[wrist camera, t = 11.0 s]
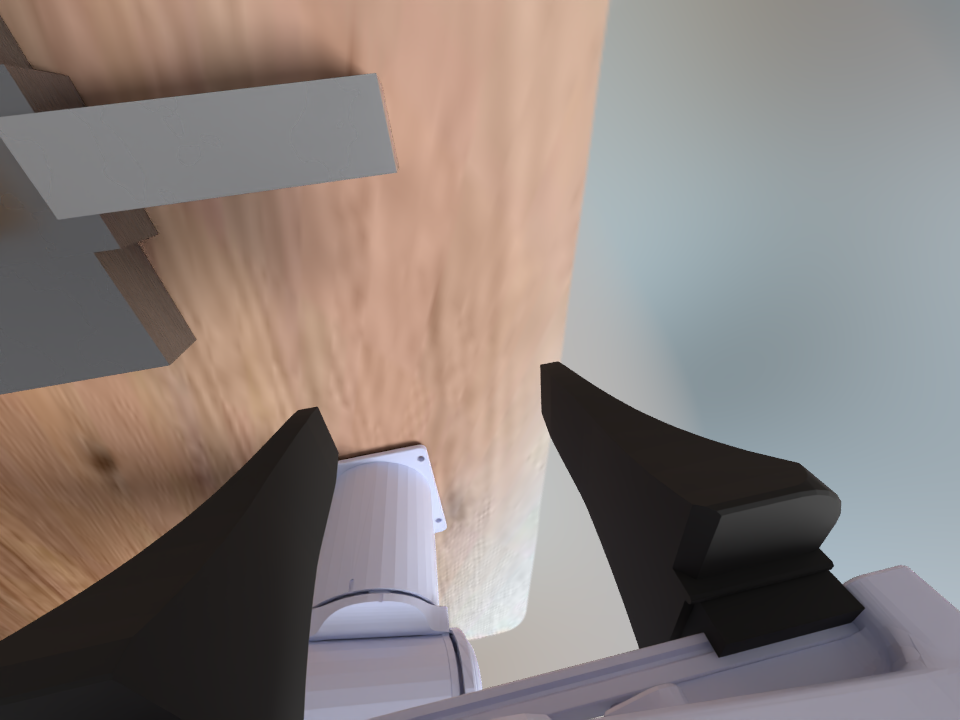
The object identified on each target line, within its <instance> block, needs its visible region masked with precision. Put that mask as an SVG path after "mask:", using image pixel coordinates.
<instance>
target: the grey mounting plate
mask: <svg viewBox="0 0 960 720" xmlns="http://www.w3.org/2000/svg"><path fill="white" fill-rule="evenodd" d="M398 168H399V166H398V161H397V156H396V151H395V146H394V141H393V136H392V131H391V126H390V122H389V117H388V112H387V107H386V102H385V97H384V92H383V87H382V84H381V82H380V80H379V78H378V76H377V74H376V73H373V74H364V75H356V76H347V77H338V78H330V79H321V80H313V81H304V82H296V83H287V84H279V85H270V86H261V87H253V88H244V89H236V90H227V91H219V92H210V93H202V94H193V95H184V96H176V97H167V98H159V99H150V100H142V101H133V102H125V103H116V104H107V105H99V106H90V107H86V106H85V104H84V102H83V101H82V99H81V97H80V95H79V94H78V92H77V90H76V88H75V87H74V85H73V83H72V81H71V79H70V78H69V76H65V75H60V74H55V73H49V72H44V71H38V70H33V69H32V67H31V66H30V64H29V62H28V61H27V59H26V57H25V56H24V54H23V52H22V51H21V49H20V47H19V46H18V44H17V42H16V41H15V39H14V37H13V36H12V34H11V33H10V31H9V29H8V28H7V26H6V24H5V23H4V21H3V19H2V18H1V16H0V394H6V393H12V392H18V391H23V390H29V389H35V388H41V387H46V386H52V385H58V384H64V383H70V382H75V381H81V380H87V379H93V378H98V377H104V376H110V375H116V374H122V373H127V372H133V371H139V370H145V369H150V368H156V367H162V366H168V365H170V364H171V363H173V362H174V361H175V360H176V359H177V358H178V357H179V356H180V355H181V354H182V353H183V352H184V351H185V350H186V349H187V348H188V347H189V346H191V345H192V344H193V343H194V342H195V341H196V338H195V337H194V335H193V333H192V332H191V330H190V328H189V327H188V325H187V323H186V322H185V320H184V318H183V317H182V315H181V313H180V312H179V310H178V308H177V307H176V305H175V304H174V302H173V300H172V299H171V297H170V295H169V294H168V292H167V290H166V289H165V287H164V285H163V284H162V282H161V280H160V279H159V277H158V275H157V274H156V272H155V270H154V269H153V267H152V266H151V264H150V262H149V261H148V259H147V257H146V256H145V254H144V252H143V251H142V249H141V247H140V246H139V244H138V242H139V241H142V240H145V239H147V238H150V237H152V236H155V235H158V233H157V231H156V229H155V227H154V226H153V224H152V222H151V220H150V219H149V217H148V215H147V213H146V211H145V210H144V208H146V207H153V206H160V205H167V204H174V203H182V202H189V201H196V200H203V199H210V198H217V197H225V196H232V195H239V194H246V193H253V192H261V191H268V190H275V189H282V188H289V187H296V186H304V185H311V184H318V183H325V182H332V181H339V180H347V179H354V178H361V177H368V176H375V175H383V174H390V173H397V171H398Z"/></svg>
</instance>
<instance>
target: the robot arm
mask: <svg viewBox="0 0 960 720" xmlns="http://www.w3.org/2000/svg"><path fill="white" fill-rule="evenodd" d="M540 370H541V407H542V415H543V418H544V421H545V423H546V426H547V429H548V431H549V434H550V437H551V439H552V441H553V443H554V445H555V447H556V449H557V450H558V452H559V454H560V456H561V458H562V460H563V462H564V464H565V466H566V468H567V469H568V471H569V473H570V475H571V477H572V479H573V481H574V483H575V484H576V486H577V488H578V490H579V492H580V494H581V496H582V498H583V500H584V502H585V504H586V507H587V509H588V511H589V514H590V516H591V519H592V521H593V524H594V526H595V529H596V531H597V534H598V536H599V539H600V541H601V544H602V546H603V549H604V552H605V554H606V557H607V559H608V562H609V565H610V567H611V570H612V573H613V575H614V578H615V581H616V583H617V586H618V589H619V592H620V594H621V597H622V600H623V603H624V605H625V608H626V611H627V614H628V617H629V620H630V623H631V626H632V629H633V632H634V634H635V637H636V640H637V643H638V646H639V649H638V650H634V651H630V652H626V653H622V654H618V655H614V656H610V657H606V658H603V659H599V660H595V661H591V662H587V663H583V664H580V665H575V666H572V667H568V668H564V669H560V670H556V671H552V672H549V673H545V674H541V675H537V676H533V677H529V678H525V679H522V680H517V681H513V682H509V683H506V684H502V685H498V686H494V687H490V688H486V689H482V682H481V676H480V670H479V665H478V662H477V658H476V655H475V652H474V650H473V647H472V646H471V644H470V643H469V641H468V640H467V639H466V636H465V635H464V633H463V632H462V630H460V629H459V628H449V619H448V607H446V606H439V594H438V578H437V563H436V547H435V533H436V532H441V531H444V530H445V529H446V528H447V525H446V520H445V516H444V512H443V509H442V505H441V501H440V497H439V494H438V490H437V486H436V482H435V479H434V475H433V471H432V467H431V464H430V460H429V456H428V452H427V449H426V447H425V446H424V445H414V446H409V447H404V448H399V449H394V450H389V451H384V452H379V453H374V454H369V455H364V456H359V457H354V458H349V459H344V460H339V461H338V454H339V453H338V451H337V448H336V446H335V444H334V442H333V439H332V437H331V435H330V433H329V431H328V428H327V426H326V424H325V422H324V420H323V417H322V415H321V413H320V411H319V408H318V407H313V408H307V409H302V410H298V411H297V412H296V413H294V414H293V415H292V416H291V417H290V418H289V419H288V420H287V421H286V422H285V424H284V425H283V426H282V427H281V428H280V429H279V430H278V431H277V432H276V433H275V434H274V435H273V436H272V437H271V438H270V439H269V440H268V441H267V443H266V444H265V445H264V446H263V447H262V448H261V449H260V450H259V451H258V452H257V453H256V454H255V455H254V456H253V457H252V458H251V459H250V460H249V461H248V462H247V463H246V464H245V465H244V466H243V467H242V468H241V469H240V470H239V471H238V472H237V473H236V474H235V475H234V476H233V477H232V478H231V479H230V480H229V481H227V482H226V483H225V484H224V485H223V486H222V487H221V488H220V489H219V490H218V491H217V492H216V493H215V494H213V495H212V496H211V497H210V498H209V499H208V500H207V501H205V502H204V503H203V504H202V505H201V506H199V507H198V508H197V509H196V510H195V511H194V512H192V513H191V514H190V515H189V516H188V517H186V518H185V519H184V520H183V521H181V522H180V523H179V524H177V525H176V526H175V527H173V528H172V529H171V530H169V531H168V532H167V533H165V534H164V535H163V536H161V537H160V538H159V539H158V540H156V541H155V542H154V543H152V544H151V545H150V546H148V547H147V548H146V549H144V550H143V551H142V552H140V553H139V554H137V555H136V556H135V557H133V558H132V559H130V560H129V561H127V562H126V563H124V564H123V565H122V566H120V567H119V568H117V569H116V570H114V571H113V572H111V573H110V574H108V575H107V576H105V577H104V578H102V579H101V580H99V581H98V582H96V583H95V584H93V585H92V586H90V587H89V588H87V589H85V590H84V591H82V592H81V593H79V594H78V595H76V596H74V597H73V598H71V599H70V600H68V601H66V602H65V603H63V604H62V605H60V606H58V607H57V608H55V609H53V610H52V611H50V612H48V613H47V614H45V615H43V616H42V617H40V618H38V619H37V620H35V621H33V622H32V623H30V624H28V625H27V626H25V627H23V628H22V629H20V630H18V631H17V632H15V633H13V634H12V635H10V636H8V637H6V638H5V639H3V640H1V641H0V720H960V611H959V610H958V609H956V608H955V607H954V606H953V605H952V604H950V602H948V601H947V600H946V599H945V598H944V597H943V596H941V595H940V594H939V593H938V592H937V591H936V590H934V589H933V588H932V587H931V586H929V584H927V583H926V582H925V581H924V580H923V579H921V578H920V577H919V576H918V575H917V574H916V573H915V572H913V571H912V570H911V569H910V568H909V567H907V566H902V565H899V566H895V567H891V568H887V569H883V570H879V571H875V572H871V573H867V574H863V575H860V576H857V577H854V578H852V579H850V580H848V581H847V582H845V583H844V584H841V582H840V581H839V580H837V578H836V577H835V576H834V575H833V574H832V573H831V572H830V571H829V570H831V569H832V568H833V567H834V565H833V562H832V561H831V560H830V559H829V558H828V557H827V556H826V555H825V554H824V553H823V552H822V551H821V550H820V549H819V547H820V546H821V544H822V543H823V541H824V540H825V538H826V537H827V536H828V534H829V533H830V531H831V529H832V528H833V527H834V525H835V524H836V522H837V520H838V518H839V516H840V513H841V500H840V499H839V497H838V495H837V494H836V493H834V492H833V491H832V490H831V489H830V488H829V487H827V486H826V485H825V484H824V483H822V482H821V481H820V480H819V479H818V478H817V477H815V476H814V475H813V474H812V473H811V472H809V471H808V470H807V469H806V468H804V467H803V466H802V465H801V464H799V463H796V462H792V461H787V460H784V459H779V458H775V457H771V456H767V455H763V454H759V453H754V452H750V451H746V450H743V449H739V448H736V447H733V446H729V445H726V444H723V443H719V442H716V441H713V440H709V439H707V438H704V437H701V436H698V435H695V434H693V433H690V432H687V431H684V430H682V429H679V428H676V427H674V426H672V425H669V424H667V423H664V422H662V421H660V420H658V419H656V418H653V417H651V416H649V415H646V414H645V413H642V412H640V411H638V410H636V409H634V408H632V407H631V406H628V405H627V404H625V403H623V402H622V401H619V400H618V399H616V398H614V397H613V396H611V395H609V394H607V393H606V392H604V391H602V390H601V389H599V388H598V387H596V386H594V385H593V384H591V383H590V382H588V381H587V380H585V379H584V378H582V377H581V376H579V375H578V374H576V373H575V372H573V371H572V370H570V369H569V368H568V367H566V366H565V365H563V364H561V363H560V362H553V363H547V364H542V365H540ZM419 456H423V457H419ZM603 715H604V717H601V718H596V717H599V716H603ZM592 718H594V719H592ZM595 718H596V719H595Z"/></svg>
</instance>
